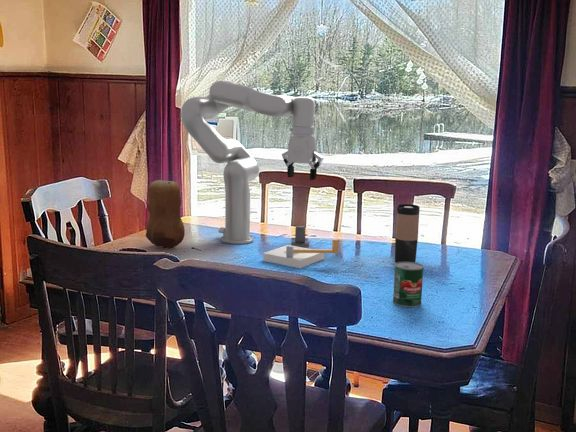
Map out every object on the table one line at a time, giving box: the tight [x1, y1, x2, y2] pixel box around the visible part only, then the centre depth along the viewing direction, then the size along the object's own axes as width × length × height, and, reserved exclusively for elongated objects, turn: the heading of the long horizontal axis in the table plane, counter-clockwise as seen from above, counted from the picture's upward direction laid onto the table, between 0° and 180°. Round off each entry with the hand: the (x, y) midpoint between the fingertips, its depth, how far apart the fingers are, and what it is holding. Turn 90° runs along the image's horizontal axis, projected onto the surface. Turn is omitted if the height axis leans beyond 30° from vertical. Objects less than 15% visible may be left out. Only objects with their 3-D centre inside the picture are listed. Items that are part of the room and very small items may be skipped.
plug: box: [290, 225, 310, 248], centre depth 229 cm, size 6×6×10 cm
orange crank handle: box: [285, 238, 339, 257], centre depth 208 cm, size 2×17×6 cm, turn 94°
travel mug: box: [394, 203, 420, 264], centre depth 218 cm, size 8×8×20 cm
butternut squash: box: [145, 179, 186, 249], centre depth 230 cm, size 14×13×25 cm
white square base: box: [262, 244, 325, 269], centre depth 214 cm, size 15×15×4 cm
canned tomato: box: [392, 262, 425, 308], centre depth 176 cm, size 8×8×11 cm
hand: (301, 178), depth 232 cm, fingers open, 9 cm apart
